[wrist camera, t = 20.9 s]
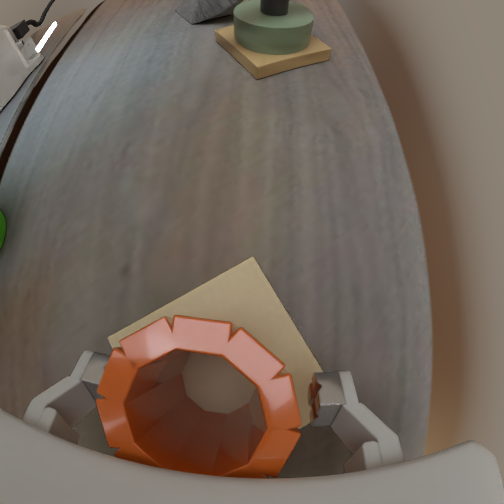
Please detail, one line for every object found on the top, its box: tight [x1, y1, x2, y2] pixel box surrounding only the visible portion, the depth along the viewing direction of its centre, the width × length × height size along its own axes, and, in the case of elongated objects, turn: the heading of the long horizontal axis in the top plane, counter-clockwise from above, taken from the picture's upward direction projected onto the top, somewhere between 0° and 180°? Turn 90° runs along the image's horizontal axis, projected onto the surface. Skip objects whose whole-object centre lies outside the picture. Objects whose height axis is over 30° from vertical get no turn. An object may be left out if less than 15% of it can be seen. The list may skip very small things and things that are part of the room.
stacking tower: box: [215, 0, 332, 80], centre depth 18 cm, size 8×8×10 cm
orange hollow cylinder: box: [96, 315, 302, 478], centre depth 11 cm, size 6×6×8 cm
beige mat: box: [108, 257, 323, 429], centre depth 15 cm, size 10×10×1 cm
